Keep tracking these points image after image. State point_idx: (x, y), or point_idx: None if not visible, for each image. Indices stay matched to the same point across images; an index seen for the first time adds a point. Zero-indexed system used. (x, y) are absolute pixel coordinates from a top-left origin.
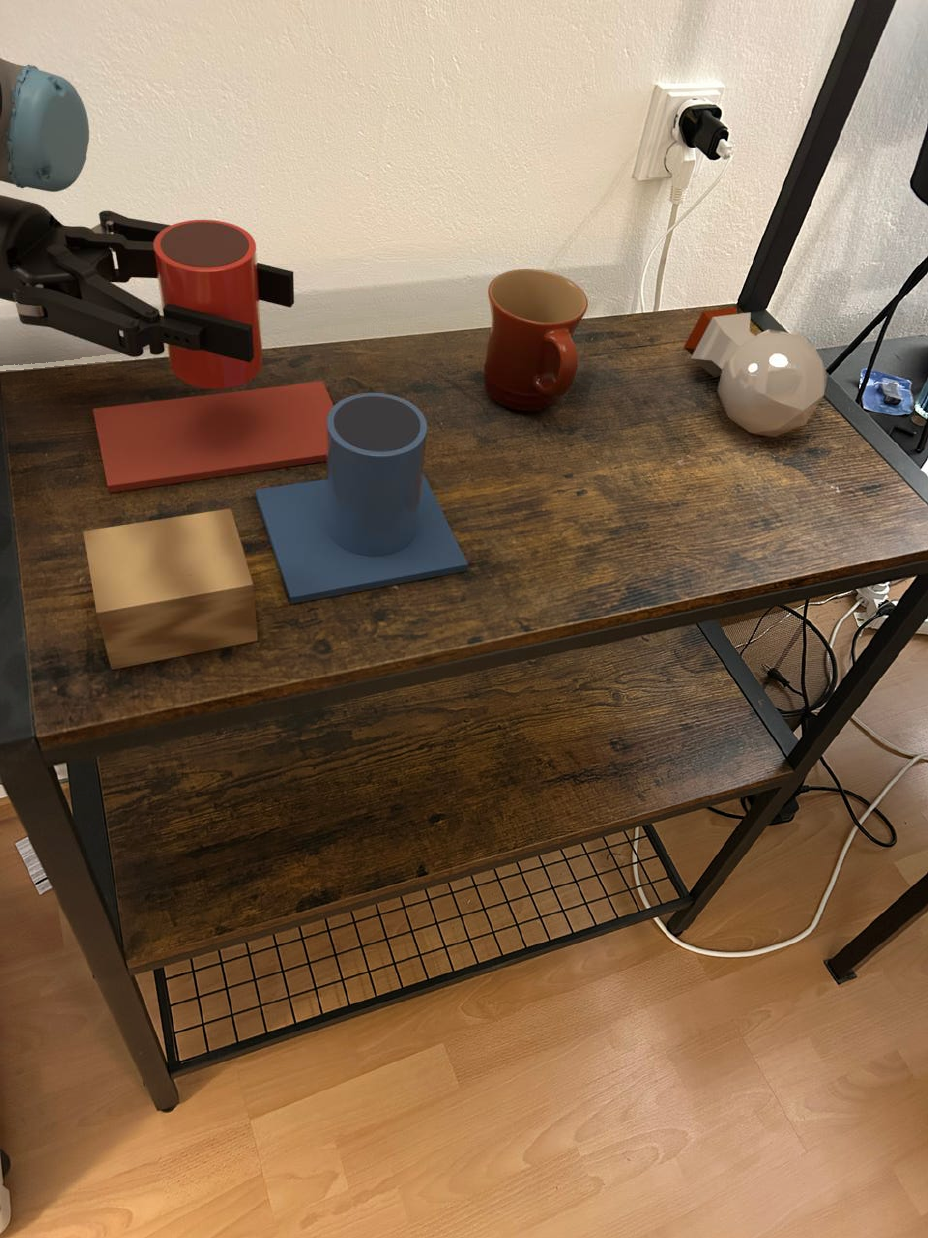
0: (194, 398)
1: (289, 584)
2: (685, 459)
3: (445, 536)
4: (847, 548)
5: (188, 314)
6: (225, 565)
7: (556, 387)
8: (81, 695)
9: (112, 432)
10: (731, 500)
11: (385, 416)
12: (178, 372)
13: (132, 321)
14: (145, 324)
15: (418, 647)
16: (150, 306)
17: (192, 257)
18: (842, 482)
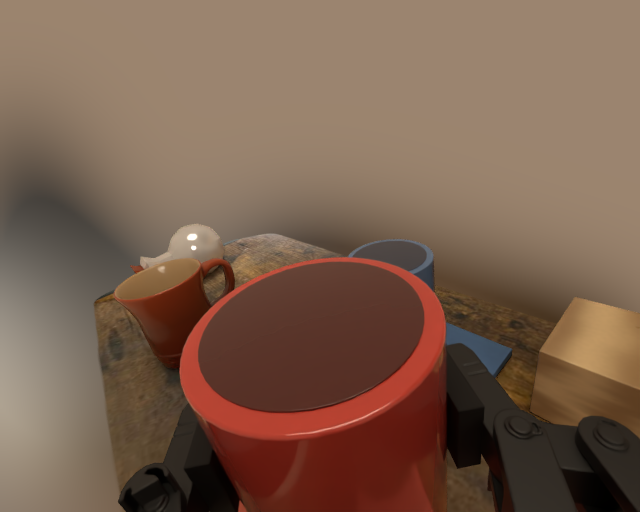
0: None
1: (503, 356)
2: (242, 279)
3: None
4: (281, 239)
5: (449, 357)
6: (590, 316)
7: (234, 283)
8: None
9: None
10: (267, 262)
11: (376, 256)
12: None
13: (603, 426)
14: (551, 432)
15: (460, 295)
16: (503, 446)
17: (381, 297)
18: (241, 249)
